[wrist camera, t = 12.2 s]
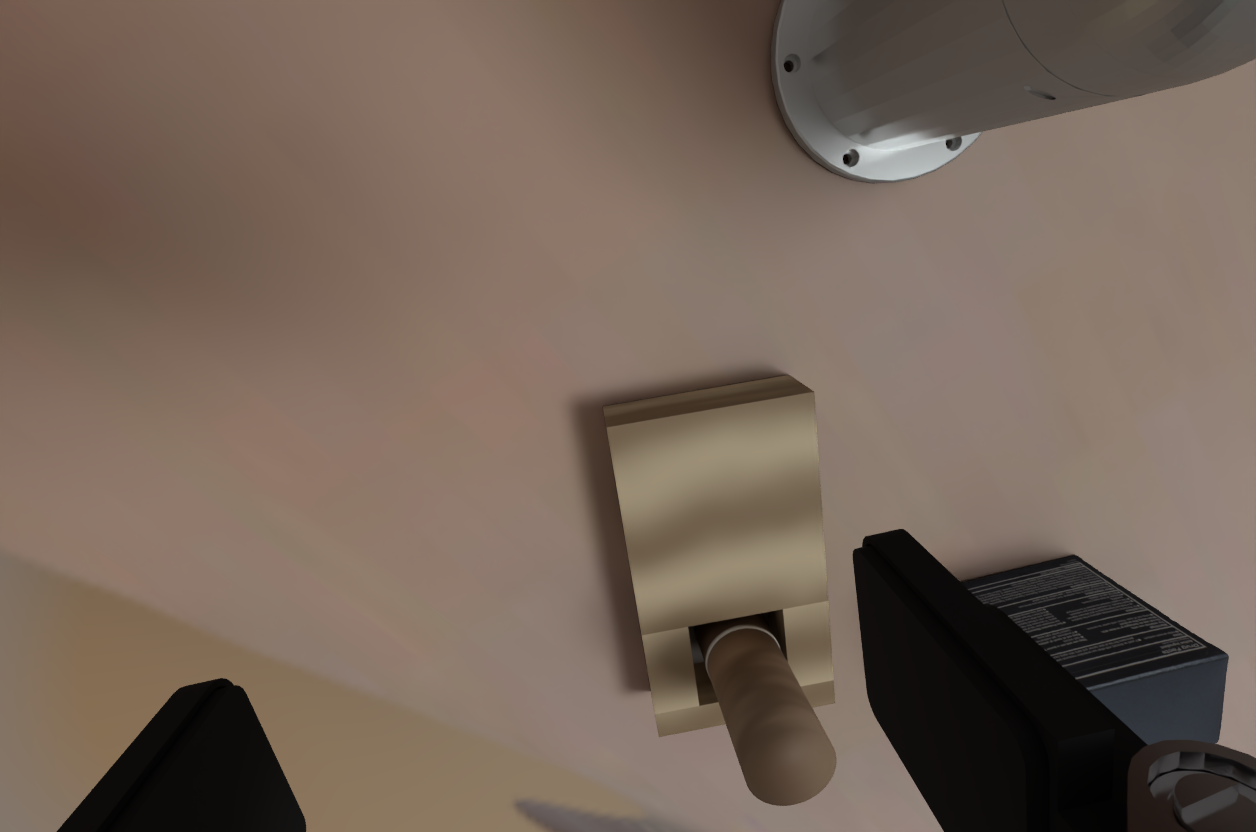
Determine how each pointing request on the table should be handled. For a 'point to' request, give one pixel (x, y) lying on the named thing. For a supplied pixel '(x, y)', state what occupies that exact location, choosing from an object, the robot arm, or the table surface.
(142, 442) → the table surface
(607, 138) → the table surface
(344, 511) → the table surface
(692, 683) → the board
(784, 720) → the peg
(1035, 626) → the small box
